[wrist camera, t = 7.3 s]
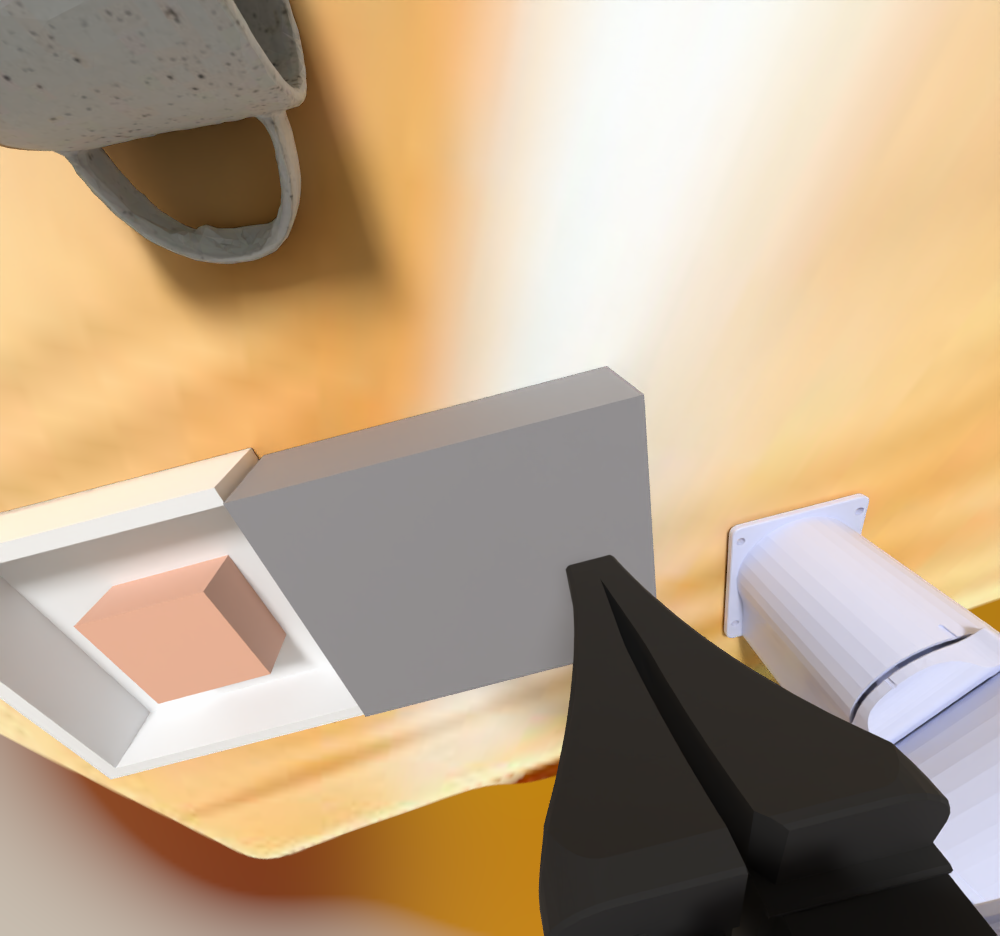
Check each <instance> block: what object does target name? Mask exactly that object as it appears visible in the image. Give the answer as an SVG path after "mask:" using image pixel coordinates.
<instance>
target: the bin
mask: <svg viewBox="0 0 1000 936" xmlns="http://www.w3.org/2000/svg"><path fill="white" fill-rule="evenodd" d="M258 461H259V460H258V458H257V456H256V455H255V453H254V451H253V449H252V448H248V449H244V450H240V451H236V452H232V453H228V454H225V455H221V456H217V457H213V458H209V459H205V460H201V461H198V462H194V463H190V464H186V465H182V466H178V467H175V468H171V469H167V470H163V471H159V472H155V473H151V474H148V475H144V476H140V477H136V478H132V479H128V480H125V481H121V482H117V483H113V484H109V485H105V486H101V487H98V488H94V489H90V490H86V491H82V492H78V493H75V494H71V495H67V496H63V497H59V498H55V499H51V500H48V501H44V502H40V503H36V504H32V505H28V506H25V507H21V508H17V509H13V510H9V511H5V512H1V513H0V699H2V700H3V701H4V702H6V703H7V704H9V705H10V706H11V707H13V708H14V709H15V710H17V711H18V712H20V713H21V714H22V715H24V716H25V717H26V718H28V719H29V720H30V721H32V722H33V723H35V724H36V725H37V726H39V727H40V728H41V729H43V730H44V731H46V732H47V733H48V734H50V735H51V736H52V737H54V738H55V739H56V740H58V741H59V742H61V743H62V744H63V745H65V746H66V747H67V748H69V749H70V750H72V751H73V752H74V753H76V754H77V755H78V756H80V757H81V758H83V759H84V760H85V761H87V762H88V763H89V764H91V765H92V766H93V767H95V768H96V769H98V770H99V771H100V772H102V773H103V774H104V775H106V776H107V777H109V778H110V779H114V778H118V777H122V776H126V775H130V774H134V773H138V772H142V771H145V770H149V769H153V768H157V767H161V766H165V765H169V764H173V763H177V762H181V761H184V760H188V759H192V758H196V757H200V756H204V755H208V754H212V753H216V752H220V751H223V750H227V749H231V748H235V747H239V746H243V745H247V744H251V743H255V742H259V741H263V740H266V739H270V738H274V737H278V736H282V735H286V734H290V733H294V732H298V731H302V730H305V729H309V728H313V727H317V726H321V725H325V724H329V723H333V722H337V721H341V720H344V719H348V718H352V717H356V716H360V715H364V713H363V712H362V710H361V709H360V707H359V706H358V704H357V703H356V701H355V700H354V698H353V697H352V696H351V694H350V693H349V691H348V690H347V688H346V687H345V685H344V684H343V682H342V681H341V679H340V678H339V676H338V675H337V673H336V672H335V670H334V669H333V667H332V666H331V664H330V663H329V661H328V660H327V658H326V657H325V655H324V654H323V652H322V651H321V649H320V648H319V646H318V645H317V643H316V642H315V640H314V639H313V637H312V636H311V634H310V633H309V631H308V630H307V628H306V627H305V625H304V624H303V622H302V621H301V619H300V618H299V617H298V615H297V614H296V612H295V611H294V609H293V608H292V606H291V605H290V603H289V602H288V600H287V599H286V597H285V596H284V594H283V593H282V591H281V590H280V588H279V587H278V585H277V584H276V582H275V581H274V579H273V578H272V576H271V575H270V573H269V572H268V570H267V569H266V567H265V566H264V564H263V563H262V561H261V560H260V558H259V557H258V555H257V554H256V552H255V551H254V549H253V548H252V546H251V545H250V543H249V542H248V540H247V539H246V537H245V536H244V535H243V533H242V532H241V530H240V529H239V527H238V526H237V524H236V523H235V521H234V520H233V518H232V517H231V515H230V514H229V512H228V511H227V509H226V508H225V506H224V505H223V503H224V502H225V501H226V499H227V498H228V497H229V496H230V495H231V493H232V492H233V491H234V490H235V489H236V487H237V486H238V485H239V484H240V483H241V482H242V480H243V479H244V478H245V477H246V476H247V474H248V473H249V472H250V471H251V470H252V468H253V467H254V466H255V465H256V464H257V463H258ZM226 555H229V556H230V558H231V559H232V561H233V562H234V563H235V565H236V566H237V567H238V569H239V570H240V571H241V573H242V574H243V576H244V577H245V578H246V580H247V581H248V582H249V584H250V585H251V586H252V588H253V589H254V590H255V592H256V593H257V595H258V596H259V597H260V599H261V600H262V601H263V603H264V604H265V605H266V607H267V608H268V610H269V611H270V612H271V614H272V615H273V616H274V618H275V619H276V620H277V622H278V623H279V625H280V626H281V627H282V629H283V630H284V631H285V633H286V637H285V639H284V642H283V644H282V647H281V649H280V652H279V654H278V657H277V659H276V662H275V664H274V667H273V669H272V672H271V674H269V675H265V676H261V677H258V678H254V679H250V680H246V681H243V682H239V683H235V684H231V685H228V686H224V687H220V688H216V689H213V690H209V691H205V692H201V693H198V694H194V695H190V696H186V697H183V698H179V699H175V700H171V701H167V702H164V703H160V704H158V703H157V702H156V701H155V700H153V699H152V698H151V697H150V696H149V695H148V694H147V693H146V692H145V691H144V690H142V689H141V688H140V687H139V686H138V685H137V684H136V683H135V682H134V681H133V680H132V679H130V678H129V677H128V676H127V675H126V674H125V673H124V672H123V671H122V670H121V669H119V668H118V667H117V666H116V665H115V664H114V663H113V662H112V661H111V660H110V659H109V658H107V657H106V656H105V655H104V654H103V653H102V652H101V651H100V650H99V649H98V648H96V647H95V646H94V645H93V644H92V643H91V642H90V641H89V640H88V639H87V638H86V637H84V636H83V635H82V634H81V633H80V632H79V631H78V630H77V629H76V628H75V627H74V626H75V625H76V624H77V622H78V621H79V620H80V619H81V618H82V617H83V616H84V615H85V614H86V613H87V612H88V611H89V610H90V609H91V608H92V607H93V606H94V605H95V604H96V603H97V602H98V601H99V600H100V599H101V598H102V596H103V595H104V594H105V593H106V592H107V591H108V590H109V589H110V588H111V587H112V586H115V585H119V584H122V583H126V582H130V581H134V580H137V579H141V578H145V577H148V576H152V575H156V574H160V573H163V572H167V571H171V570H174V569H178V568H182V567H185V566H189V565H193V564H197V563H200V562H204V561H208V560H211V559H215V558H219V557H222V556H226Z"/></svg>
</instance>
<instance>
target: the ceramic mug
mask: <svg viewBox="0 0 1000 936" xmlns="http://www.w3.org/2000/svg"><path fill="white" fill-rule="evenodd" d="M306 90H307V84H306V68H305V64H304V56H303V50H302V45H301V40H300V35H299V31H298V28H297V25H296V22H295V19H294V16H293V13H292V10H291V6H290V3H289V0H0V146H2V147H6V148H12V149H21V150H33V151H54V152H56V153H58V154H60V155H63V156H65V157H66V159H67V160H68V161H69V162H70V163H71V164H72V165H73V167H74V169H75V171H76V173H77V174H78V176H79V177H80V178H81V179H82V180H83V181H84V182H85V183H86V184H87V186H88V187H89V188H90V189H91V191H92V192H93V193H94V194H95V195H96V196H97V197H98V198H99V199H100V200H101V201H103V203H104V204H105V205H106V206H107V207H108V208H109V209H110V210H111V211H112V212H113V213H114V214H115V215H116V216H117V217H119V218H120V219H121V220H123V221H124V222H125V223H126V224H128V225H129V226H130V227H132V228H133V229H134V230H135V231H137V232H138V233H139V234H140V235H142V236H143V237H145V238H146V239H148V240H149V241H151V242H153V243H155V244H157V245H159V246H161V247H163V248H165V249H167V250H170V251H172V252H174V253H176V254H179V255H182V256H185V257H188V258H191V259H194V260H196V261H203V262H210V263H219V264H234V263H241V262H247V261H254V260H257V259H260V258H262V257H264V256H267V255H269V254H271V253H273V252H275V251H277V249H278V248H279V247H280V246H281V244H282V243H283V242H284V241H285V240H286V239H287V238H288V236H289V233H290V231H291V228H292V226H293V223H294V220H295V217H296V214H297V211H298V207H299V202H300V195H301V173H300V166H299V159H298V154H297V150H296V145H295V141H294V136H293V132H292V128H291V126H290V123H289V120H288V118H287V115H286V110H288V109H291V108H294V107H298V106H300V105H301V104H302V103H303V102H304V100H305V97H306ZM247 117H256V118H257V119H258V120H259V121H261V122H262V123H263V124H264V125H265V127H266V129H267V131H268V133H269V135H270V137H271V140H272V142H273V145H274V148H275V155H276V161H277V164H278V170H279V177H280V184H281V205H280V207H279V210H278V214H277V218H275V219H274V220H273V221H272V222H270V223H267V224H259V225H251V226H244V227H239V228H216V227H213V226H210V225H207V224H206V225H203V226H200V227H198V228H197V229H194V228H191V227H188V226H186V225H184V224H182V223H180V222H179V221H177V220H175V219H173V218H172V217H170V216H169V215H167V214H165V213H164V212H162V211H161V210H160V209H158V208H157V207H156V206H155V205H154V204H152V203H151V202H150V201H149V200H148V198H147V197H146V196H145V195H143V194H142V193H140V192H139V191H138V190H137V189H136V188H135V187H134V186H133V185H132V184H131V182H130V181H129V180H128V179H127V178H126V177H125V176H124V175H123V174H122V173H121V171H120V170H119V169H118V168H117V167H116V166H115V164H114V163H113V162H112V160H111V159H110V158H109V157H108V155H107V154H106V153H105V151H104V150H103V149H102V147H105V146H109V145H113V144H117V143H122V142H127V141H131V140H134V139H138V138H144V137H151V136H156V134H159V133H165V132H171V131H177V130H188V129H192V128H197V127H202V126H208V125H213V124H220V123H223V122H230V121H238V120H241V119H244V118H247Z"/></svg>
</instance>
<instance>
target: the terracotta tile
mask: <svg viewBox="0 0 1000 936" xmlns="http://www.w3.org/2000/svg"><path fill="white" fill-rule="evenodd" d="M74 627H75V628H76V629H77V630H78V631H79V632H80V633H81V634H82V635H83V636H84V637H86V638H87V639H88V640H89V641H90V642H91V643H92V644H93V645H94V646H95V647H96V648H98V649H99V650H100V651H101V652H102V653H103V654H104V655H105V656H106V657H107V658H109V659H110V660H111V661H112V662H113V663H114V664H115V665H116V666H117V667H118V668H119V669H121V670H122V671H123V672H124V673H125V674H126V675H127V676H128V677H129V678H130V679H132V680H133V681H134V682H135V683H136V684H137V685H138V686H139V687H140V688H141V689H142V690H144V691H145V692H146V693H147V694H148V695H149V696H150V697H151V698H152V699H153V700H155V701H156V702H157V703H158V704H160V703H164V702H167V701H171V700H175V699H179V698H183V697H186V696H190V695H194V694H198V693H201V692H205V691H209V690H213V689H216V688H220V687H224V686H228V685H231V684H235V683H239V682H243V681H246V680H250V679H254V678H258V677H261V676H265V675H269V674H271V672H272V669H273V667H274V664H275V662H276V659H277V657H278V654H279V652H280V649H281V647H282V644H283V642H284V639H285V637H286V633H285V631H284V630H283V629H282V627H281V626H280V625H279V623H278V622H277V620H276V619H275V618H274V616H273V615H272V614H271V612H270V611H269V610H268V608H267V607H266V605H265V604H264V603H263V601H262V600H261V599H260V597H259V596H258V595H257V593H256V592H255V590H254V589H253V588H252V586H251V585H250V584H249V582H248V581H247V580H246V578H245V577H244V576H243V574H242V573H241V571H240V570H239V569H238V567H237V566H236V565H235V563H234V562H233V561H232V559H231V558H230V556H229V555H226V556H222V557H219V558H215V559H211V560H208V561H204V562H200V563H197V564H193V565H189V566H185V567H182V568H178V569H174V570H171V571H167V572H163V573H160V574H156V575H152V576H148V577H145V578H141V579H137V580H134V581H130V582H126V583H122V584H119V585H115V586H112V587H111V588H110V589H109V590H108V591H107V592H106V593H105V594H104V595H103V596H102V598H101V599H100V600H99V601H98V602H97V603H96V604H95V605H94V606H93V607H92V608H91V609H90V610H89V611H88V612H87V613H86V614H85V615H84V616H83V617H82V618H81V619H80V620H79V621H78V622H77V624H76V625H75V626H74Z"/></svg>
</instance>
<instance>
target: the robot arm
mask: <svg viewBox="0 0 1000 936" xmlns="http://www.w3.org/2000/svg"><path fill="white" fill-rule="evenodd" d="M868 503H869V498H868V497H867V496H865V495H863V494H855V495H851V496H847V497H843V498H839V499H835V500H832V501H828V502H824V503H820V504H816V505H812V506H808V507H804V508H800V509H797V510H793V511H789V512H785V513H781V514H777V515H773V516H769V517H765V518H762V519H758V520H754V521H750V522H746V523H742V524H738V525H736V526H734V527H732V529H731V530H730V532H729V546H728V564H727V583H726V601H725V620H724V633H725V634H726V636H727V637H729V638H734V637H738V636H743V637H744V638H745V640H746V641H747V642H748V643H749V645H750V646H751V647H752V649H753V650H754V651H755V653H756V654H757V655H758V657H759V658H760V659H761V661H762V662H763V663H764V665H765V666H766V667H767V669H768V670H769V671H770V673H771V674H772V675H773V676H774V678H775V679H776V680H777V682H778V683H779V684H780V685H778V684H776V683H774V682H773V681H771V680H769V679H767V678H766V677H764V676H762V675H761V674H759V673H757V672H755V671H754V670H752V669H751V668H749V667H747V666H746V665H744V664H743V663H741V662H740V661H738V660H737V659H735V658H734V657H732V656H730V655H729V654H728V653H726V652H725V651H723V650H722V649H720V648H719V647H717V646H716V645H714V644H713V643H712V642H710V641H709V640H707V639H706V638H705V637H703V636H702V635H701V634H699V633H698V632H697V631H695V630H694V629H693V628H691V627H690V626H689V625H688V624H686V623H685V622H684V621H683V620H681V619H680V618H679V617H677V616H676V615H675V614H674V613H673V612H671V611H670V610H669V609H668V608H667V607H666V606H664V605H663V604H662V603H661V602H660V601H659V600H658V599H656V598H655V597H654V596H653V595H652V594H651V593H650V592H649V591H647V590H646V589H645V588H644V587H643V586H642V585H641V584H640V583H639V582H638V581H637V580H636V579H635V578H634V577H633V576H632V575H631V574H630V573H629V572H628V571H627V570H626V569H625V568H624V567H623V566H622V565H621V564H620V563H619V562H618V561H617V559H616V558H615V557H614V556H612V555H607V556H603V557H599V558H595V559H591V560H587V561H583V562H579V563H576V564H572V565H569V566H568V567H567V568H566V574H567V579H568V584H569V589H570V594H571V599H572V604H573V614H574V658H573V673H572V684H571V694H570V701H569V709H568V716H567V723H566V729H565V735H564V740H563V745H562V750H561V755H560V760H559V766H558V771H557V775H556V780H555V784H554V788H553V792H552V796H551V800H550V804H549V808H548V811H547V816H546V819H545V823H544V835H543V845H542V853H541V864H540V877H539V903H540V913H541V919H542V925H543V931H544V936H1000V632H998V631H997V630H995V629H994V628H992V627H991V626H990V625H988V624H987V623H985V622H984V621H982V620H981V619H980V618H978V617H977V616H975V615H974V614H972V613H971V612H970V611H968V610H967V609H965V608H964V607H963V606H961V605H960V604H958V603H957V602H955V601H954V600H953V599H951V598H950V597H948V596H947V595H946V594H944V593H943V592H941V591H940V590H938V589H937V588H936V587H934V586H933V585H931V584H930V583H928V582H927V581H926V580H924V579H923V578H921V577H920V576H918V575H917V574H916V573H914V572H913V571H911V570H910V569H909V568H907V567H906V566H904V565H903V564H901V563H900V562H899V561H897V560H896V559H894V558H893V557H891V556H890V555H889V554H887V553H886V552H884V551H883V550H881V549H880V548H879V547H877V546H876V545H874V544H873V543H872V542H870V541H869V540H867V539H866V538H864V537H863V536H862V535H861V531H862V527H863V523H864V519H865V515H866V511H867V507H868Z"/></svg>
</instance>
